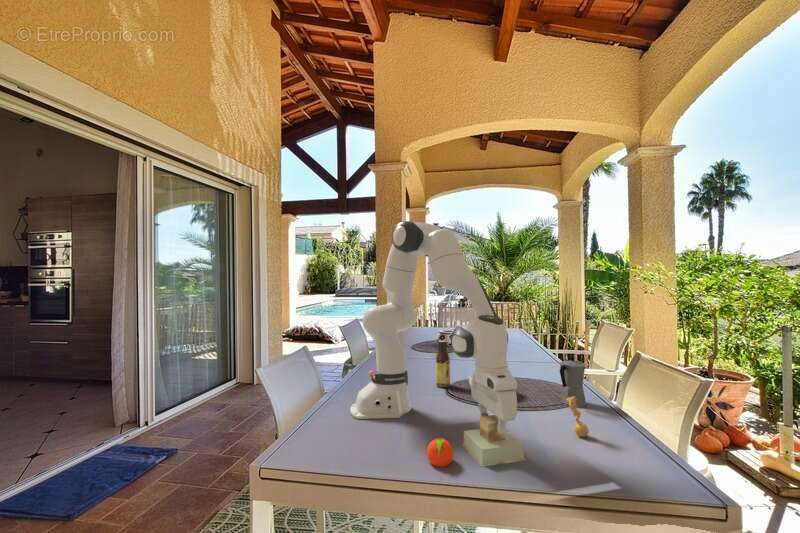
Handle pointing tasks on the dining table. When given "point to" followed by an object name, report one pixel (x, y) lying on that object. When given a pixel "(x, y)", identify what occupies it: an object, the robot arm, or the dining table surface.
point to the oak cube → (490, 429)
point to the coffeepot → (572, 381)
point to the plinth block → (493, 448)
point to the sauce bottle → (442, 365)
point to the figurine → (580, 427)
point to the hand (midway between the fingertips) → (492, 425)
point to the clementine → (440, 452)
